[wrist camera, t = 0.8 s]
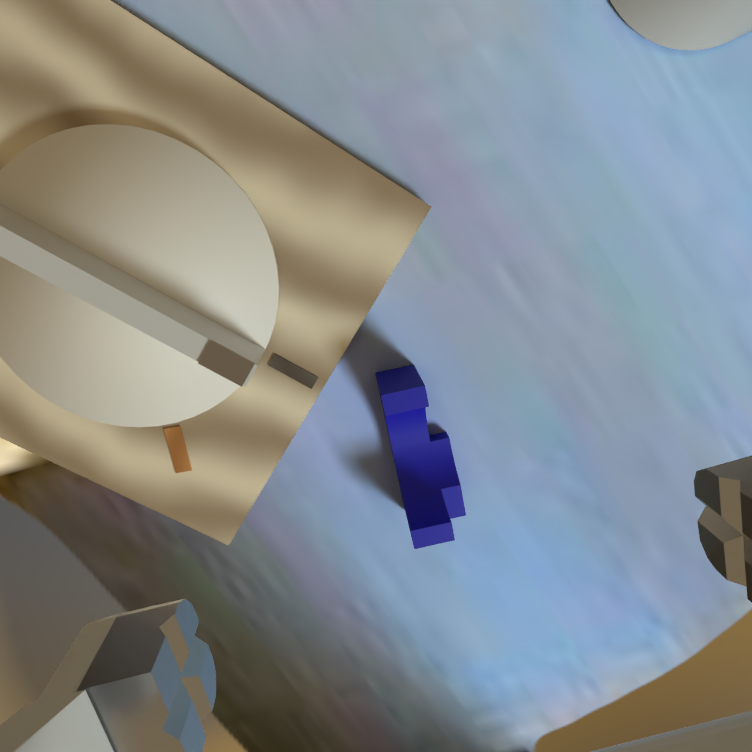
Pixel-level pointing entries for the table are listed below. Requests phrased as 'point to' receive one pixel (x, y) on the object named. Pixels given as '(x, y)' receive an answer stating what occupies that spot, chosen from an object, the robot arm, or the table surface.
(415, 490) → the blue notched block
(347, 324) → the dial board
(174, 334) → the dial
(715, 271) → the table surface
